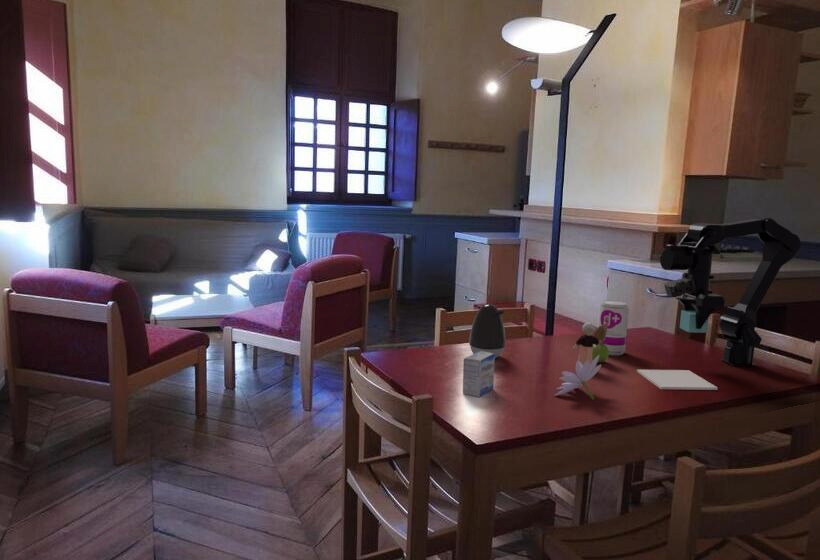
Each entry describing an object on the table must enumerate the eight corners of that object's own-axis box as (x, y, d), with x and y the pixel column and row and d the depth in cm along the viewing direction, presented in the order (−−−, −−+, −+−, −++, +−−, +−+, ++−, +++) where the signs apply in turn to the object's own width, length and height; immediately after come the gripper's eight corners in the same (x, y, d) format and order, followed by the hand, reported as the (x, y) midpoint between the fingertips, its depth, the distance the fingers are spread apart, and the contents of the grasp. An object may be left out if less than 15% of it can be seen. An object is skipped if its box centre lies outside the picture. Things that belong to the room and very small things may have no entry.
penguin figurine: (487, 364, 161) (490, 309, 159) (461, 355, 169) (463, 302, 167) (513, 358, 168) (516, 305, 166) (486, 350, 176) (488, 299, 174)
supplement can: (619, 357, 172) (624, 306, 169) (591, 352, 176) (595, 302, 174) (628, 352, 178) (632, 302, 176) (601, 347, 183) (605, 299, 181)
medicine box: (479, 398, 135) (481, 360, 134) (461, 394, 138) (463, 357, 136) (493, 388, 142) (495, 353, 141) (476, 385, 144) (478, 350, 143)
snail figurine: (613, 361, 168) (616, 319, 166) (602, 366, 163) (606, 323, 161) (595, 357, 171) (598, 316, 169) (584, 361, 167) (587, 319, 165)
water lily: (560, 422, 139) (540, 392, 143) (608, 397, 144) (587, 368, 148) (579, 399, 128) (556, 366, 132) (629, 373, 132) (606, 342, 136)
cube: (697, 328, 167) (698, 310, 166) (706, 332, 162) (708, 314, 161) (679, 328, 167) (681, 310, 166) (688, 332, 162) (690, 314, 161)
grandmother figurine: (578, 372, 157) (582, 324, 155) (569, 367, 160) (572, 321, 158) (602, 369, 160) (606, 323, 158) (593, 365, 163) (596, 320, 161)
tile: (688, 372, 159) (688, 370, 159) (717, 389, 145) (717, 387, 145) (636, 371, 158) (637, 369, 158) (660, 389, 145) (661, 386, 145)
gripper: (654, 265, 171) (649, 318, 173) (687, 274, 152) (681, 334, 155) (692, 266, 171) (687, 319, 174) (729, 275, 153) (723, 335, 155)
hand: (693, 326), depth 164 cm, fingers closed on cube, 5 cm apart
